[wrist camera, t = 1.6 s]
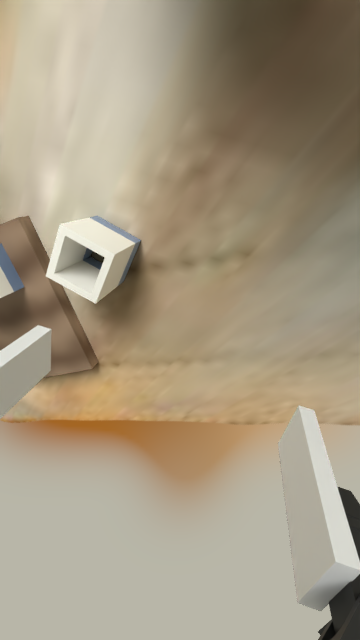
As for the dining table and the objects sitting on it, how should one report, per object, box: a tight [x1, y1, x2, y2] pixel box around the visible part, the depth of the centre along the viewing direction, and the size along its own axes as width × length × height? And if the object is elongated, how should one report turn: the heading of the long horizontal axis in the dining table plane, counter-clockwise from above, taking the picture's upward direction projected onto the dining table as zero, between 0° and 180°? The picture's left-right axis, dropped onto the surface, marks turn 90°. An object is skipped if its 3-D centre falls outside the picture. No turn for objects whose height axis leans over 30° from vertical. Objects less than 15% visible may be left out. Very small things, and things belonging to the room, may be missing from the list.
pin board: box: [0, 216, 98, 378], centre depth 40 cm, size 22×14×7 cm, turn 18°
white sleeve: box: [46, 216, 141, 304], centre depth 33 cm, size 6×6×8 cm
